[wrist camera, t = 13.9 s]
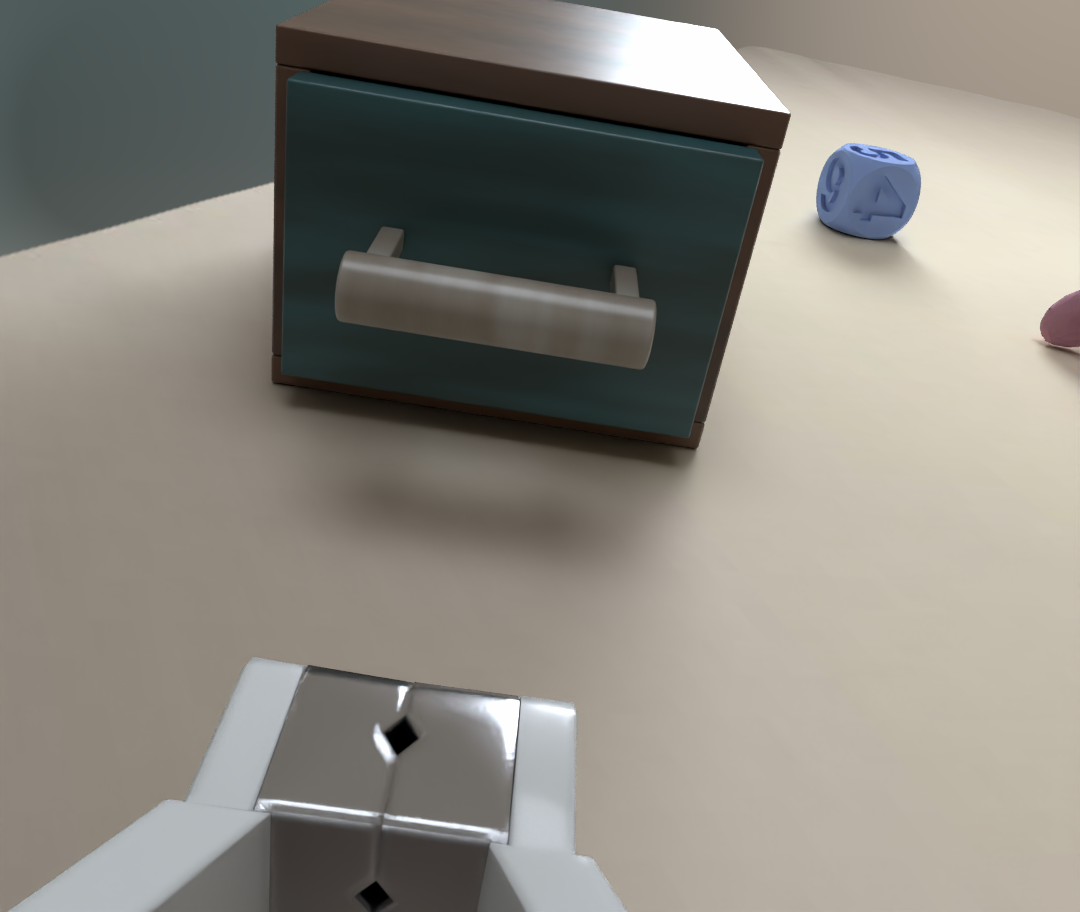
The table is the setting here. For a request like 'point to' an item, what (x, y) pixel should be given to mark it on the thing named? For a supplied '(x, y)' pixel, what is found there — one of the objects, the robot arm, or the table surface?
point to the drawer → (506, 252)
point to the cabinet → (541, 82)
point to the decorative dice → (868, 191)
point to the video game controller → (1063, 322)
